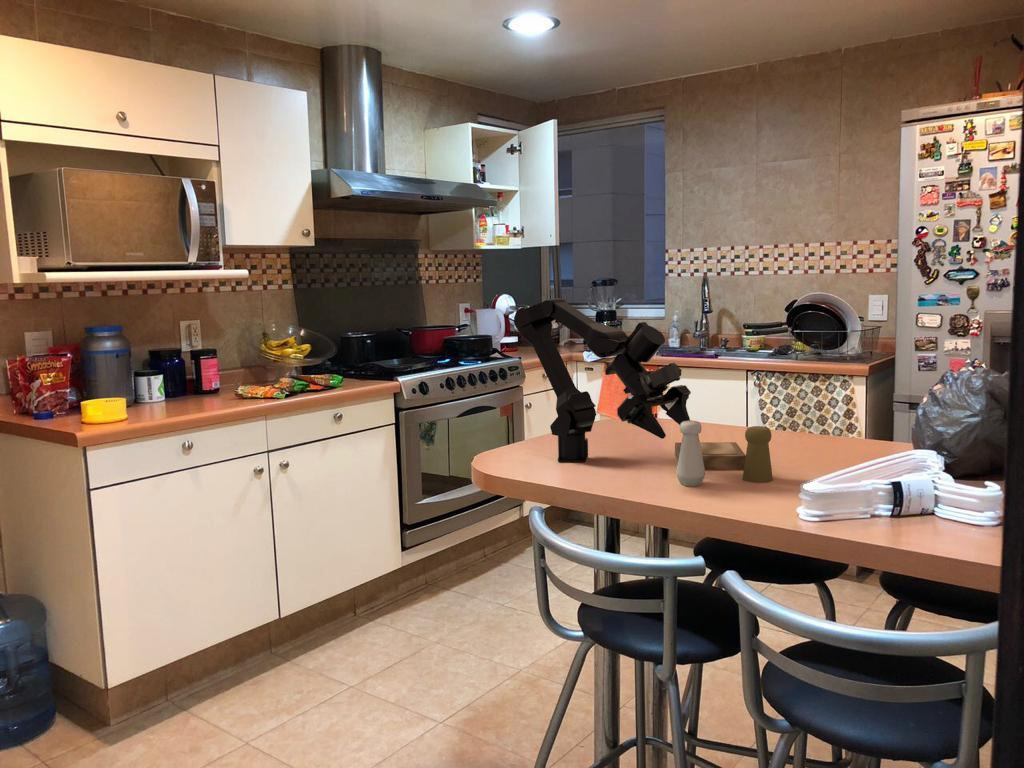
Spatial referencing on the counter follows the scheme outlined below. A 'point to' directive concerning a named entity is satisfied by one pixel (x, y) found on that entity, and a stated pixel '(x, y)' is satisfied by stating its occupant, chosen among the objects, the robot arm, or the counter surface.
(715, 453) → the base board
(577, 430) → the robot arm
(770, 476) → the pepper shaker
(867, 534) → the counter surface
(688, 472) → the salt shaker
